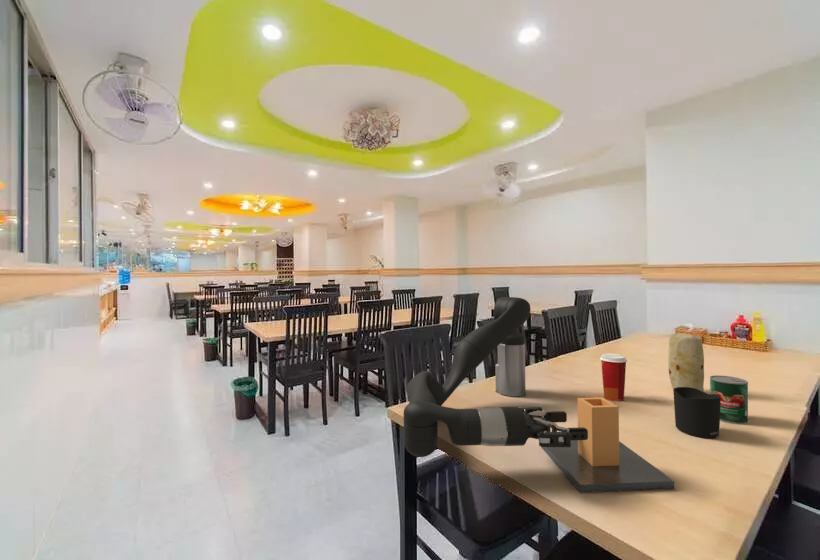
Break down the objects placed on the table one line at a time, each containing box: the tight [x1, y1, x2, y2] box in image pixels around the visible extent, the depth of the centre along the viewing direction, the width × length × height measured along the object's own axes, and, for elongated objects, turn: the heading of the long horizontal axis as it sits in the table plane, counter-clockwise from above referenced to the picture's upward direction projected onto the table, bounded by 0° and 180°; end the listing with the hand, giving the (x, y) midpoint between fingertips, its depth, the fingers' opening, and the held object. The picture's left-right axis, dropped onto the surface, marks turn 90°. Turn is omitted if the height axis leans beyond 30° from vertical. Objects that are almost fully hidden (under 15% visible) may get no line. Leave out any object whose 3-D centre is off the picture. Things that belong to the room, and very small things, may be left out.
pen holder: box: [672, 387, 721, 439], centre depth 90 cm, size 9×9×10 cm
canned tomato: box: [709, 374, 749, 425], centre depth 98 cm, size 8×8×11 cm
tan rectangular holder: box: [577, 396, 620, 466], centre depth 74 cm, size 6×6×12 cm
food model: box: [667, 332, 705, 392], centre depth 120 cm, size 10×7×20 cm
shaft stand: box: [540, 440, 675, 494], centre depth 75 cm, size 18×18×9 cm
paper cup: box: [599, 353, 628, 402], centre depth 115 cm, size 8×8×14 cm
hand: (575, 424), depth 74 cm, fingers open, 8 cm apart
